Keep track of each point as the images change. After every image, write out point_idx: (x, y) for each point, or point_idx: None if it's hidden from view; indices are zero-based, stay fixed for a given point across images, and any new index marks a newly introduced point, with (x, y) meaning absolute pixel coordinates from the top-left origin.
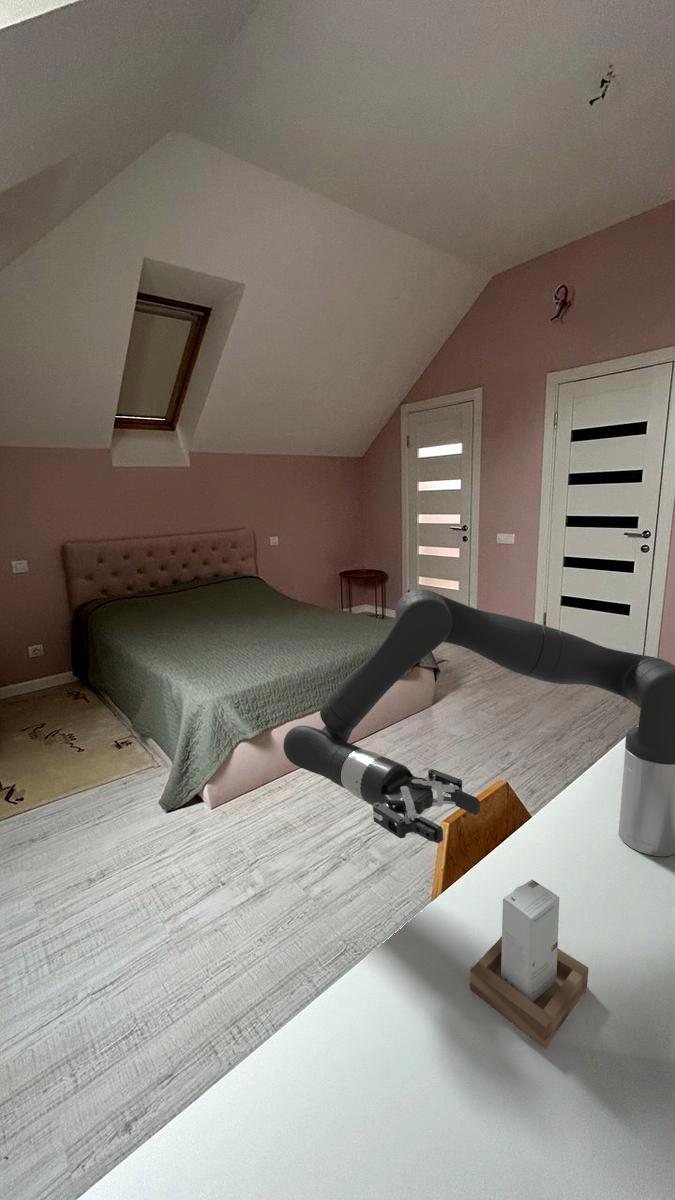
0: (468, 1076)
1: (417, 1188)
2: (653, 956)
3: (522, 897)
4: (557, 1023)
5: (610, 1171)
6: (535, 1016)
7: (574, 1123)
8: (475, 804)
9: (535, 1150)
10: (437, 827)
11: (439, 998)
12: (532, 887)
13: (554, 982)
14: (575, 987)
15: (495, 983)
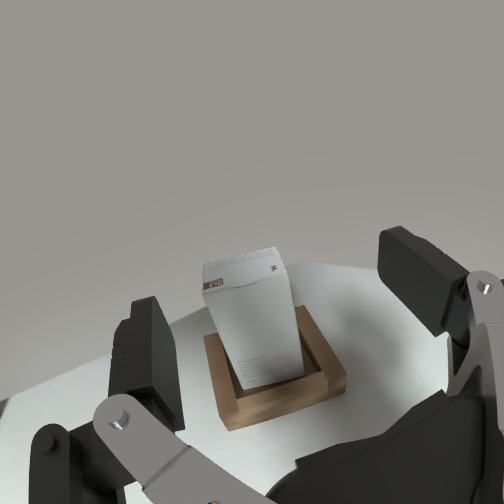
0: (391, 321)
1: None
2: None
3: (256, 267)
4: None
5: (319, 268)
6: (306, 313)
7: (323, 286)
8: (157, 309)
9: (361, 281)
10: (398, 229)
11: (390, 389)
12: (221, 279)
13: None
14: None
15: (324, 350)
